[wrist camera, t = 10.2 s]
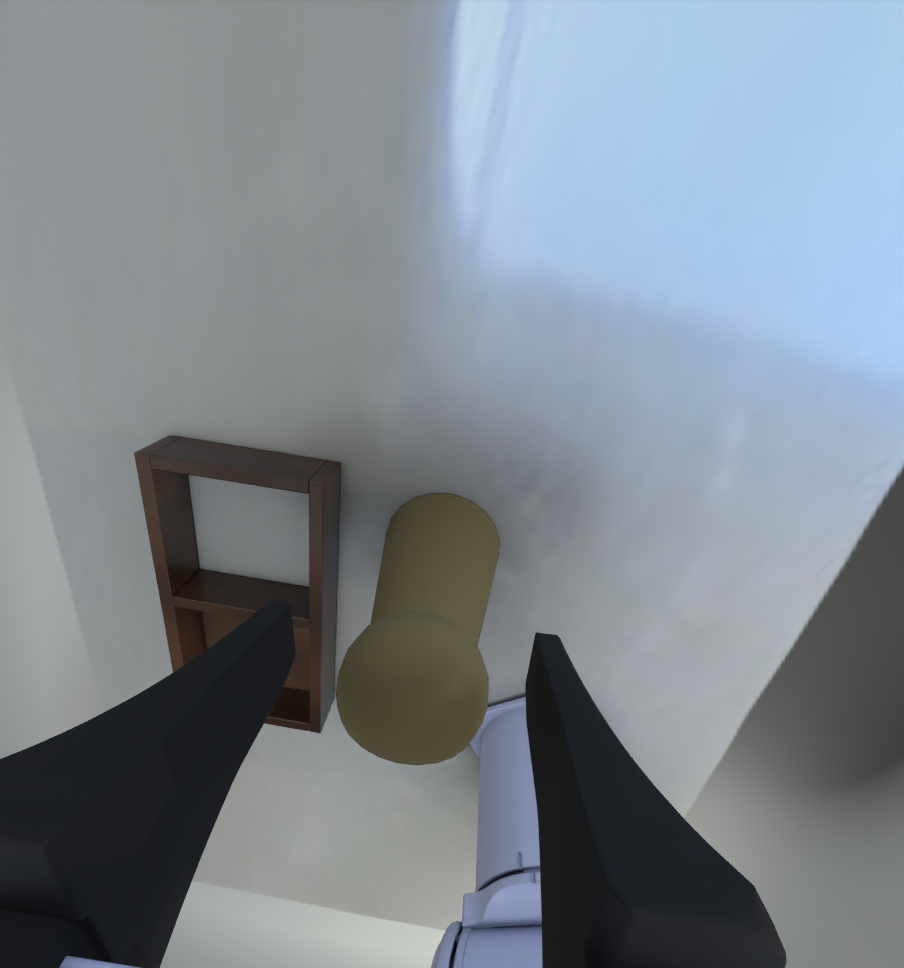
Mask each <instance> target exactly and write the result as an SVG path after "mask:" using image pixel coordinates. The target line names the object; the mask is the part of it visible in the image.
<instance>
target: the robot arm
mask: <svg viewBox="0 0 904 968" xmlns="http://www.w3.org/2000/svg"><path fill="white" fill-rule="evenodd" d="M295 656H296V650H295V640H294V629H293V618H292V608H291V603H288V602H280V601H272V600H271V601H270V602H268V603H267V604H266V605H264V606H263V607H262V608H260V609H259V610H258V611H256V612H255V613H254V614H253V615H251V616H250V617H249V618H247V619H246V620H245V621H244V622H242V623H241V624H240V625H239V626H237V627H236V628H235V629H233V630H232V631H231V632H230V633H228V634H227V635H226V636H224V637H223V638H222V639H220V640H219V641H218V642H216V643H215V644H214V645H212V646H211V647H210V648H208V649H207V650H205V651H204V652H203V653H201V654H200V655H198V656H197V657H195V658H194V659H193V660H191V661H190V662H188V663H187V664H185V665H184V666H182V667H181V668H180V669H178V670H177V671H175V672H174V673H172V674H171V675H169V676H167V677H166V678H164V679H163V680H161V681H159V682H158V683H156V684H154V685H153V686H151V687H149V688H148V689H146V690H144V691H143V692H141V693H139V694H138V695H136V696H134V697H132V698H131V699H129V700H127V701H125V702H123V703H121V704H119V705H117V706H115V707H114V708H112V709H110V710H108V711H106V712H104V713H102V714H100V715H98V716H96V717H95V718H93V719H91V720H89V721H87V722H85V723H83V724H80V725H79V726H76V727H74V728H72V729H70V730H68V731H66V732H64V733H62V734H59V735H57V736H55V737H52V738H50V739H48V740H46V741H44V742H41V743H39V744H37V745H34V746H32V747H29V748H27V749H25V750H22V751H20V752H17V753H15V754H12V755H10V756H7V757H5V758H2V759H0V968H160V965H161V962H162V959H163V957H164V954H165V951H166V948H167V945H168V943H169V940H170V937H171V935H172V932H173V929H174V926H175V923H176V921H177V918H178V915H179V913H180V910H181V907H182V905H183V902H184V899H185V897H186V894H187V891H188V889H189V887H190V884H191V881H192V879H193V876H194V874H195V871H196V869H197V866H198V863H199V861H200V858H201V856H202V853H203V851H204V849H205V846H206V844H207V841H208V839H209V836H210V834H211V832H212V829H213V827H214V824H215V822H216V819H217V817H218V815H219V812H220V810H221V808H222V806H223V803H224V801H225V799H226V796H227V794H228V792H229V789H230V787H231V785H232V783H233V780H234V778H235V776H236V774H237V772H238V770H239V768H240V766H241V764H242V762H243V760H244V759H245V757H246V755H247V753H248V751H249V749H250V748H251V746H252V744H253V742H254V740H255V738H256V737H257V735H258V733H259V731H260V729H261V727H262V726H263V724H264V722H265V720H266V718H267V716H268V715H269V713H270V711H271V709H272V707H273V705H274V704H275V702H276V700H277V698H278V696H279V694H280V692H281V690H282V688H283V686H284V684H285V681H286V679H287V676H288V674H289V671H290V669H291V666H292V664H293V661H294V658H295ZM469 745H470V746H471V748H472V749H473V750H474V752H475V753H476V755H477V756H478V757H479V759H480V779H479V807H478V835H477V863H476V890H475V892H474V893H467V894H464V897H463V914H462V922H461V921H456V922H453V923H451V924H450V925H449V927H448V928H447V930H446V932H445V934H444V936H443V938H442V940H441V942H440V944H439V946H438V948H437V950H436V952H435V955H434V958H433V962H432V967H431V968H785V965H786V952H785V950H784V948H783V946H782V943H781V941H780V938H779V936H778V933H777V931H776V929H775V926H774V924H773V922H772V920H771V918H770V916H769V914H768V912H767V910H766V908H765V906H764V904H763V902H762V901H761V899H760V897H759V895H758V893H757V891H756V889H755V887H754V885H752V884H751V883H750V882H749V881H748V880H747V879H746V878H745V877H744V876H743V875H742V874H741V873H739V872H738V871H737V870H736V869H735V868H734V867H733V866H732V865H731V864H730V863H729V862H728V861H726V860H725V859H724V858H723V857H722V856H721V855H720V854H719V853H718V852H717V851H716V850H715V849H713V848H712V847H711V846H710V845H709V844H708V843H707V842H706V841H705V840H704V839H703V838H702V837H701V836H700V835H699V834H698V833H697V832H696V831H695V830H694V829H693V828H692V827H691V826H690V825H689V824H688V823H687V822H686V820H685V819H684V818H683V817H682V816H681V815H680V814H679V813H678V812H677V810H676V809H675V808H674V807H673V806H672V805H671V804H670V803H669V802H668V800H667V799H666V798H665V797H664V796H663V795H662V794H661V793H660V792H659V790H658V789H657V788H656V787H655V786H654V785H653V784H652V782H651V781H650V780H649V779H648V777H647V776H646V775H645V774H644V772H643V771H642V770H641V769H640V767H639V766H638V765H637V764H636V762H635V761H634V760H633V758H632V757H631V756H630V755H629V753H628V752H627V751H626V749H625V748H624V747H623V745H622V744H621V742H620V741H619V740H618V738H617V737H616V735H615V734H614V732H613V731H612V729H611V728H610V726H609V725H608V723H607V722H606V720H605V719H604V717H603V716H602V714H601V713H600V711H599V710H598V708H597V706H596V705H595V703H594V701H593V700H592V698H591V696H590V695H589V693H588V691H587V690H586V688H585V686H584V684H583V683H582V681H581V679H580V677H579V675H578V674H577V672H576V670H575V668H574V666H573V664H572V662H571V660H570V658H569V656H568V654H567V652H566V650H565V648H564V646H563V644H562V642H561V639H560V638H559V637H558V636H557V635H551V634H543V633H536V634H535V639H534V644H533V649H532V654H531V659H530V664H529V669H528V674H527V679H526V697H523V698H519V699H516V700H512V701H508V702H505V703H501V704H498V705H494V706H491V707H487V711H486V714H485V717H484V720H483V723H482V725H481V727H480V728H479V730H478V732H477V734H476V735H475V737H474V738H473V740H472V741H471V742H470V743H469Z"/></svg>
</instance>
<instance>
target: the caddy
mask: <svg viewBox="0 0 904 968" xmlns="http://www.w3.org/2000/svg"><path fill="white" fill-rule="evenodd" d="M134 455H135V460H136V466H137V472H138V477H139V483H140V489H141V494H142V500H143V505H144V511H145V517H146V522H147V528H148V534H149V539H150V545H151V550H152V556H153V562H154V567H155V573H156V579H157V584H158V590H159V595H160V601H161V607H162V612H163V618H164V623H165V629H166V635H167V640H168V646H169V652H170V657H171V663H172V668H173V673H174V672H175V671H177V670H178V669H180V668H181V667H182V666H184V665H185V664H187V663H188V662H190V661H191V660H193V659H194V658H195V657H197V656H198V655H200V654H201V653H203V652H204V651H205V650H207V649H208V648H210V647H211V646H212V645H214V644H215V643H216V642H218V641H219V640H220V639H222V638H223V637H224V636H226V635H227V634H228V633H230V632H231V631H232V630H233V629H235V628H236V627H237V626H239V625H240V624H241V623H242V622H244V621H245V620H246V619H247V618H249V617H250V616H251V615H253V614H254V613H255V612H256V611H258V610H259V609H260V608H262V607H263V606H264V605H266V604H267V603H268V602H270V601H271V600H272V601H280V602H288V603H291V608H292V618H293V629H294V640H295V650H296V656H295V658H294V661H293V664H292V666H291V669H290V671H289V674H288V676H287V679H286V681H285V684H284V686H283V688H282V690H281V692H280V694H279V696H278V698H277V700H276V702H275V704H274V705H273V707H272V709H271V711H270V713H269V715H268V716H267V718H266V720H265V722H264V723H265V724H271V725H277V726H282V727H288V728H294V729H300V730H305V731H309V730H310V731H311V732H316V733H321V731H322V729H323V726H324V723H325V721H326V718H327V716H328V713H329V710H330V708H331V705H332V703H333V700H334V677H335V643H336V609H337V575H338V542H339V508H340V474H341V463H340V462H334V461H327V460H322V459H315V458H309V457H303V456H296V455H290V454H284V453H277V452H271V451H265V450H258V449H252V448H246V447H239V446H233V445H227V444H220V443H214V442H208V441H201V440H195V439H189V438H182V437H176V436H167V437H165V438H163V439H161V440H159V441H157V442H155V443H153V444H151V445H149V446H147V447H145V448H143V449H141V450H139V451H137V452H135V453H134ZM187 474H188V475H194V476H201V477H207V478H213V479H219V480H226V481H232V482H238V483H244V484H250V485H257V486H263V487H269V488H275V489H282V490H288V491H294V492H300V493H307V494H309V587H310V588H307V587H301V586H295V585H289V584H283V583H277V582H271V581H265V580H259V579H253V578H247V577H241V576H235V575H229V574H223V573H217V572H211V571H205V570H199V563H198V555H197V547H196V539H195V532H194V524H193V516H192V508H191V500H190V492H189V485H188V477H187Z"/></svg>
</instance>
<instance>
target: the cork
mask: <svg viewBox="0 0 904 968" xmlns="http://www.w3.org/2000/svg"><path fill="white" fill-rule="evenodd" d="M499 543H500V540H499V537H498V533H497V530H496V526H495V524H494V523H493V522H492V520H491V519H490V517H489V516H488V515H487V513H486V512H485V511H484V510H483V509H481V508H480V507H479V506H477V505H476V504H475V503H473V502H472V501H470V500H468V499H465V498H462V497H459V496H456V495H454V494H442V493H432V494H428V495H423V496H419V497H416V498H414V499H412V500H411V501H409V502H407V503H406V504H404V505H402V506H401V507H400V509H399V510H398V511H397V512H396V513H395V514H394V516H393V517H392V518H391V521H390V524H389V527H388V530H387V533H386V538H385V544H384V550H383V556H382V561H381V567H380V573H379V579H378V584H377V590H376V596H375V602H374V608H373V613H372V619H371V625H369V626H368V627H367V628H366V629H365V630H364V631H363V632H362V633H361V634H360V635H359V636H358V638H357V639H356V640H355V641H354V642H353V644H352V645H351V646H350V647H349V649H348V651H347V653H346V655H345V658H344V660H343V663H342V666H341V669H340V671H339V674H338V677H337V686H336V697H337V707H338V711H339V715H340V718H341V721H342V723H343V725H344V727H345V729H346V730H347V732H348V734H349V735H350V736H351V737H352V738H353V739H354V740H355V741H356V742H357V743H358V744H359V745H360V746H361V747H362V748H364V749H366V750H367V751H369V752H371V753H372V754H374V755H376V756H378V757H380V758H383V759H386V760H389V761H392V762H396V763H401V764H410V765H424V764H434V763H438V762H441V761H444V760H447V759H449V758H452V757H454V756H455V755H457V754H458V753H459V752H461V751H462V750H463V749H464V748H466V747H467V746H468V744H469V743H470V742H471V741H472V740H473V738H474V737H475V735H476V734H477V732H478V730H479V728H480V727H481V725H482V723H483V720H484V717H485V714H486V711H487V703H488V675H487V671H486V668H485V665H484V662H483V659H482V656H481V653H480V650H479V648H478V647H477V646H478V641H479V637H480V633H481V628H482V624H483V620H484V616H485V611H486V607H487V603H488V598H489V594H490V590H491V585H492V581H493V577H494V573H495V568H496V564H497V560H498V554H499Z"/></svg>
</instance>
